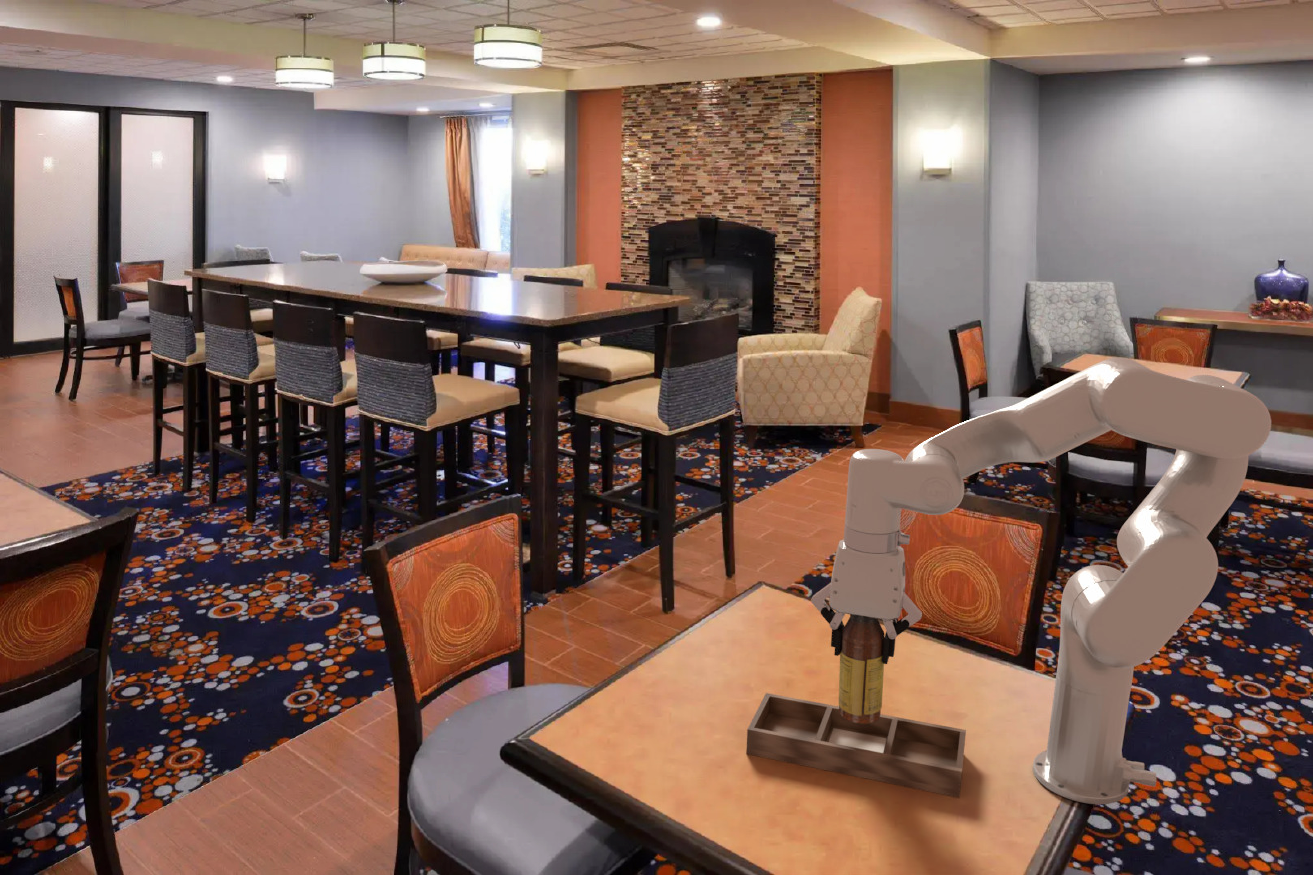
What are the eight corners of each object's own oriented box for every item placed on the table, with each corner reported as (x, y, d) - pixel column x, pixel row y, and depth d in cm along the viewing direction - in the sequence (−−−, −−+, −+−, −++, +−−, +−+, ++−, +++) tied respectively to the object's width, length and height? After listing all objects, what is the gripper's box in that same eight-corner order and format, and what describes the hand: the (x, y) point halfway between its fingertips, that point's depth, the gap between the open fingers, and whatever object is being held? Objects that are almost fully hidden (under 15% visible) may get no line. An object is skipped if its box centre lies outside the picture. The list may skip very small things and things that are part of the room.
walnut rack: (963, 754, 147) (966, 729, 146) (959, 797, 136) (961, 771, 135) (764, 715, 156) (765, 692, 155) (746, 753, 146) (747, 729, 145)
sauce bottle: (878, 706, 147) (889, 582, 142) (883, 728, 141) (895, 599, 136) (833, 703, 148) (843, 579, 143) (836, 724, 142) (847, 596, 137)
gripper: (937, 537, 139) (925, 655, 143) (814, 522, 144) (807, 635, 149) (932, 555, 132) (921, 678, 136) (804, 538, 137) (797, 656, 142)
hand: (861, 654), depth 142 cm, fingers closed on sauce bottle, 6 cm apart
